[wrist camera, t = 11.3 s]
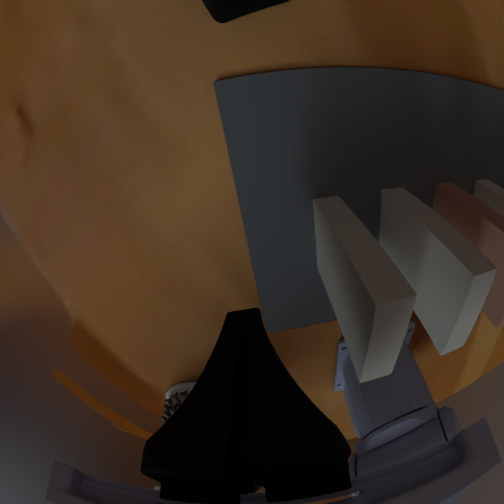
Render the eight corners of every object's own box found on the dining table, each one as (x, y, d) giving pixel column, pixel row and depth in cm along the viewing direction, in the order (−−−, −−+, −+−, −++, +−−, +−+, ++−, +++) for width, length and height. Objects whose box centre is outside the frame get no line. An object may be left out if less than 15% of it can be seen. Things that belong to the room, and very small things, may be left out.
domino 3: (451, 182, 15) (542, 249, 7) (442, 242, 18) (511, 320, 10) (435, 183, 15) (529, 255, 8) (427, 245, 18) (496, 328, 10)
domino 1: (338, 195, 16) (417, 294, 8) (339, 264, 18) (391, 374, 11) (312, 199, 16) (375, 305, 8) (317, 268, 18) (359, 383, 11)
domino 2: (402, 187, 15) (497, 268, 8) (396, 252, 18) (463, 345, 10) (381, 189, 15) (474, 276, 8) (377, 256, 18) (440, 355, 10)
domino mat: (500, 267, 20) (502, 269, 20) (266, 329, 22) (267, 332, 21) (525, 98, 11) (528, 99, 11) (214, 82, 12) (213, 81, 12)
